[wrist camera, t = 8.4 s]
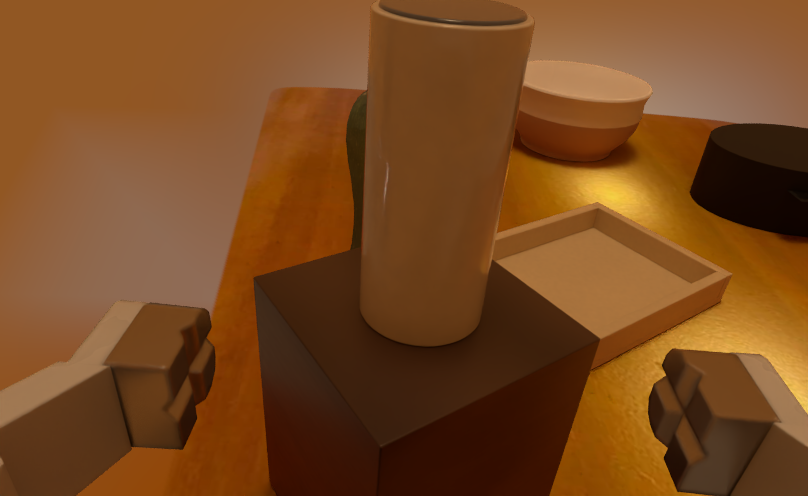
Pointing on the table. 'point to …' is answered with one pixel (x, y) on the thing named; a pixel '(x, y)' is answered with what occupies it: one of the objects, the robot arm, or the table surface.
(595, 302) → the tray
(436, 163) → the cylinder
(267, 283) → the pedestal
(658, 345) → the table surface
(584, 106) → the bowl
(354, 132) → the vegetable
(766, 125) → the black flat-topped cap
